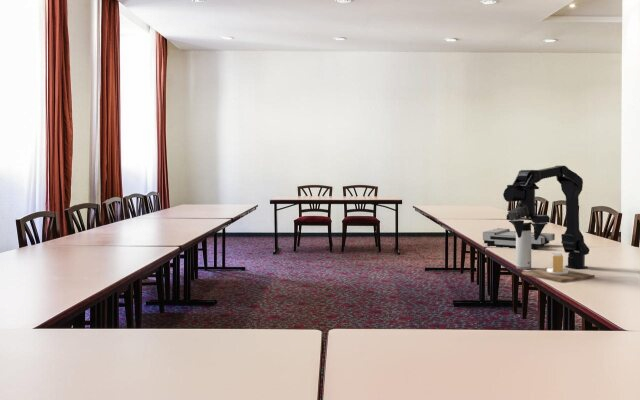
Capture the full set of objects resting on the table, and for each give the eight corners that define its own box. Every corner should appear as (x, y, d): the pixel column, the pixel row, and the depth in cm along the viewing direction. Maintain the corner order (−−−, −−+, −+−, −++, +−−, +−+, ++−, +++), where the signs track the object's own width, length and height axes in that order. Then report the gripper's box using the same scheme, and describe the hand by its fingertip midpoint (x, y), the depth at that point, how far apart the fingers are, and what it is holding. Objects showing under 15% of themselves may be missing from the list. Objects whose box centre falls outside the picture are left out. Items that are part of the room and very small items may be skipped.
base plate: (554, 269, 239) (554, 267, 239) (594, 277, 221) (594, 274, 221) (521, 274, 231) (521, 271, 231) (561, 282, 213) (561, 279, 213)
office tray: (541, 251, 292) (541, 235, 292) (482, 246, 313) (482, 232, 313) (554, 246, 308) (554, 231, 308) (498, 242, 329) (498, 228, 328)
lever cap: (567, 271, 228) (567, 253, 228) (568, 275, 221) (569, 256, 220) (546, 270, 231) (546, 252, 231) (546, 274, 224) (547, 255, 223)
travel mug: (533, 269, 240) (533, 223, 239) (517, 269, 241) (516, 223, 240) (530, 267, 246) (530, 221, 245) (515, 267, 248) (514, 221, 246)
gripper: (496, 200, 235) (496, 237, 236) (529, 202, 218) (529, 242, 219) (517, 199, 239) (517, 236, 240) (550, 201, 222) (550, 240, 223)
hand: (527, 238), depth 230 cm, fingers open, 9 cm apart
